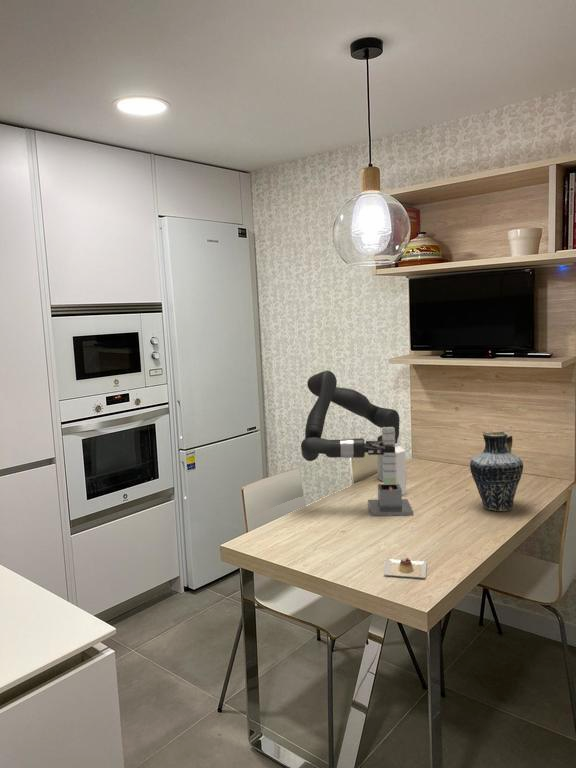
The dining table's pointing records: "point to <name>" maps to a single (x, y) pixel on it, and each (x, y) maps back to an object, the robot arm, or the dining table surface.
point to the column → (389, 456)
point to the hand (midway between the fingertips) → (393, 447)
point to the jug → (497, 471)
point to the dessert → (406, 567)
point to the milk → (400, 467)
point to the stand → (389, 502)
